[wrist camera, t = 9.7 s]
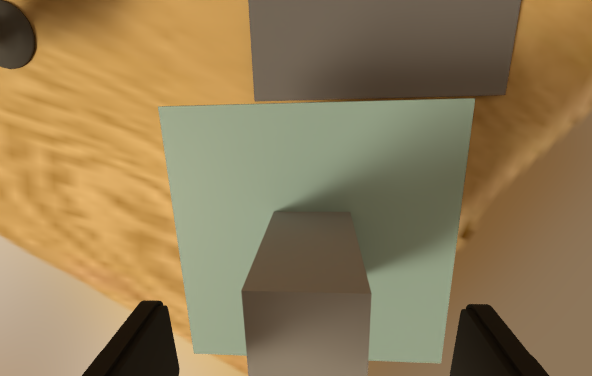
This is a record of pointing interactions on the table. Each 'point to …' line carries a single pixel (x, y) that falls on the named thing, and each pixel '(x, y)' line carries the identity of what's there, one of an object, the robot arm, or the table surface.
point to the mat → (380, 48)
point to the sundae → (14, 37)
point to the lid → (318, 229)
